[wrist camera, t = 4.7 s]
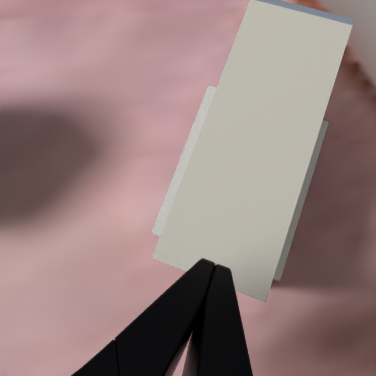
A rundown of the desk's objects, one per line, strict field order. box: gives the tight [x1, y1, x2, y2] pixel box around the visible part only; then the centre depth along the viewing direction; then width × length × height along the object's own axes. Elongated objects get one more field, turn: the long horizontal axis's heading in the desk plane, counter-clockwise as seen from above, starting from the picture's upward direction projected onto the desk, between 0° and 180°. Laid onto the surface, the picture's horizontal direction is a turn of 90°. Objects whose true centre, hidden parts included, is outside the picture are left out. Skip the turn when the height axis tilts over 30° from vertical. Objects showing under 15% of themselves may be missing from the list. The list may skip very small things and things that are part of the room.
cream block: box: [152, 0, 354, 302], centre depth 15 cm, size 4×4×12 cm
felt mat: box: [152, 85, 329, 281], centre depth 17 cm, size 9×7×1 cm
